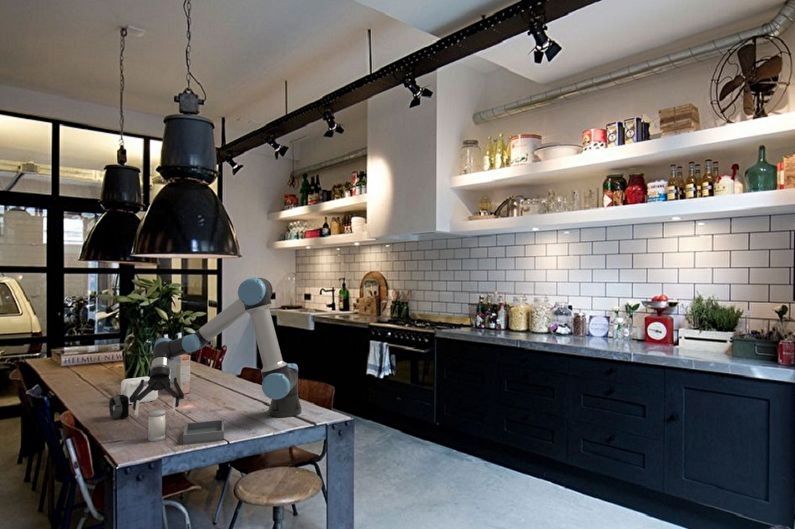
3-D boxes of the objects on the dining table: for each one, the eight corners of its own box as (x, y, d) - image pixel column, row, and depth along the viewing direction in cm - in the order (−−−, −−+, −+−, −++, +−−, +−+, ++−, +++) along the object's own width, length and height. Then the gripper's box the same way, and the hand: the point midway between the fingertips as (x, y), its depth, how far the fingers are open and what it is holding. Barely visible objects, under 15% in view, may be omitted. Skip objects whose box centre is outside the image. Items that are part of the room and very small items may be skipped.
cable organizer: (151, 397, 262) (152, 375, 262) (158, 401, 254) (158, 378, 254) (120, 402, 252) (120, 379, 252) (126, 406, 244) (126, 382, 244)
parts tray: (223, 428, 207) (223, 419, 207) (223, 440, 192) (223, 431, 192) (186, 431, 202) (186, 423, 203) (183, 444, 187) (183, 435, 187)
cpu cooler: (108, 417, 225) (108, 394, 225) (122, 414, 229) (122, 392, 229) (115, 421, 217) (116, 398, 218) (129, 418, 222) (130, 396, 222)
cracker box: (190, 393, 271) (191, 355, 272) (179, 395, 267) (180, 356, 267) (180, 389, 281) (180, 352, 281) (169, 391, 277) (170, 353, 277)
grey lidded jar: (166, 436, 197) (166, 408, 197) (164, 440, 191) (164, 412, 192) (149, 437, 195) (149, 409, 195) (147, 442, 189) (147, 413, 190)
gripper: (192, 373, 217) (189, 417, 203) (128, 377, 209) (121, 422, 195) (191, 363, 212) (188, 407, 198) (126, 367, 204) (118, 412, 190)
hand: (155, 415), depth 196 cm, fingers open, 13 cm apart
